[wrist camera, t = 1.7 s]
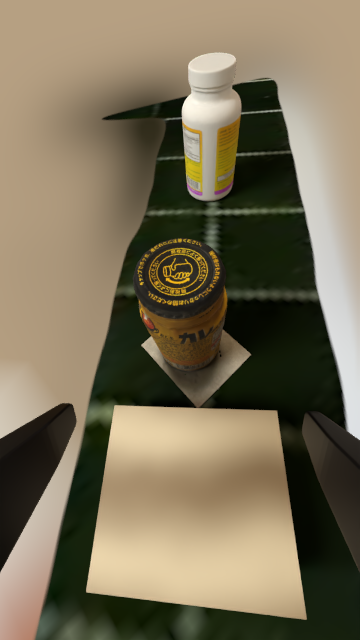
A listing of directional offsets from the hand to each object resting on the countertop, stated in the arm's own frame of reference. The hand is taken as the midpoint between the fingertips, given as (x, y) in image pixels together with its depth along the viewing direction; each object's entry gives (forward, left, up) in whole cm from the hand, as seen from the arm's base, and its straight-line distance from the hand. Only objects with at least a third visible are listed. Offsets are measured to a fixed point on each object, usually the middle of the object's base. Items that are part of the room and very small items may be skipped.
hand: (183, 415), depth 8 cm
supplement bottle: (+32, -2, -12) cm, 34 cm away
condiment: (+7, 0, -12) cm, 14 cm away
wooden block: (-4, 0, -12) cm, 13 cm away
